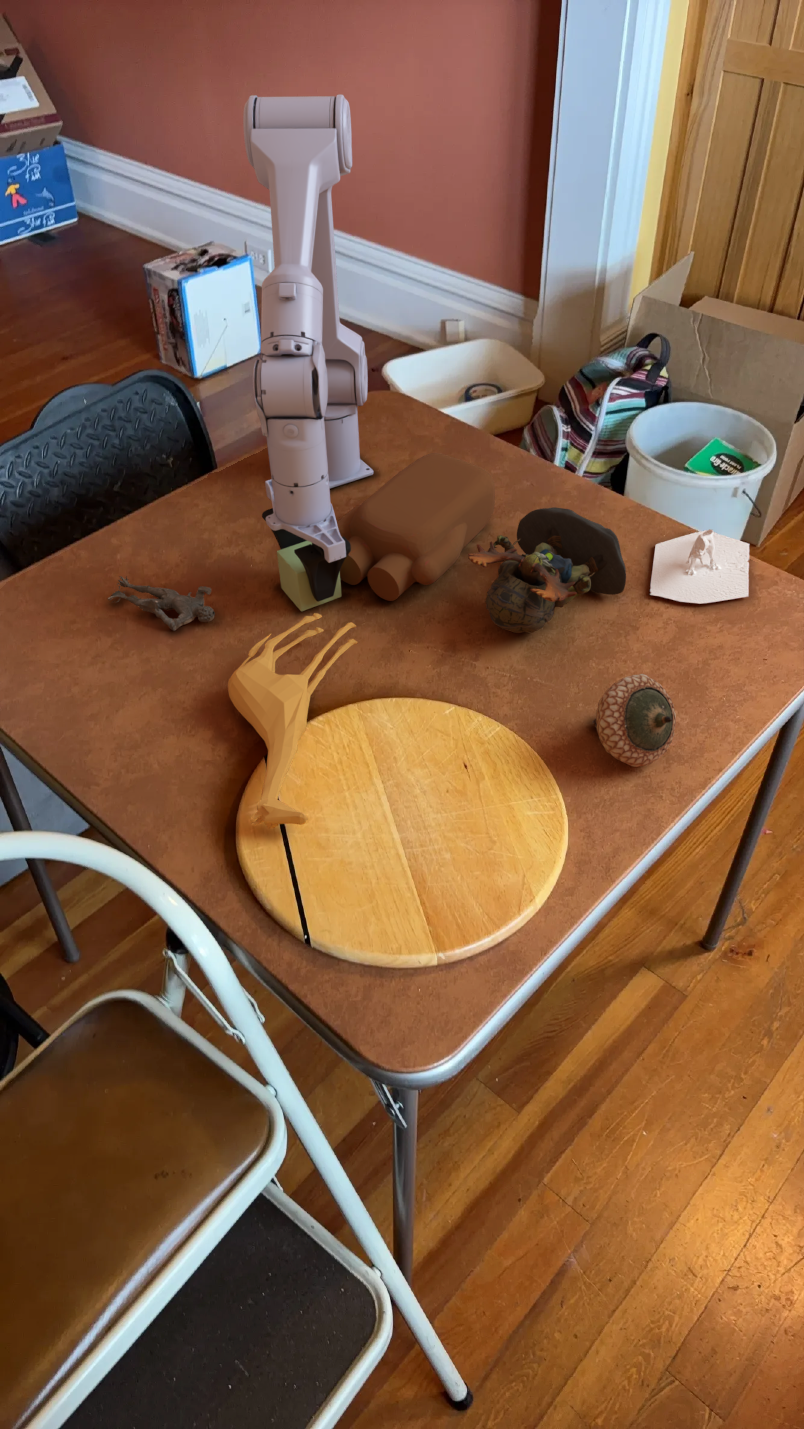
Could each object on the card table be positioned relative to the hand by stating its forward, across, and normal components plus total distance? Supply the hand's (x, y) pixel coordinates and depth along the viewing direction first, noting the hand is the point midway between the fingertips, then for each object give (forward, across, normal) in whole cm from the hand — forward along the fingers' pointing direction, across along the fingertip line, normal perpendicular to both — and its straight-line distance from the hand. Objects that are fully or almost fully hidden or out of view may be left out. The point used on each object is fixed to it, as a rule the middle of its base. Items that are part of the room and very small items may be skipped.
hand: (310, 581), depth 108 cm
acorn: (+1, +33, +14) cm, 35 cm away
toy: (+2, 0, +14) cm, 14 cm away
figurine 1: (+2, -6, -15) cm, 16 cm away
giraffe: (-1, +11, -1) cm, 11 cm away
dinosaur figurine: (+2, +20, +39) cm, 44 cm away
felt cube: (+1, 0, 0) cm, 1 cm away
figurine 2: (+2, +15, +20) cm, 25 cm away
